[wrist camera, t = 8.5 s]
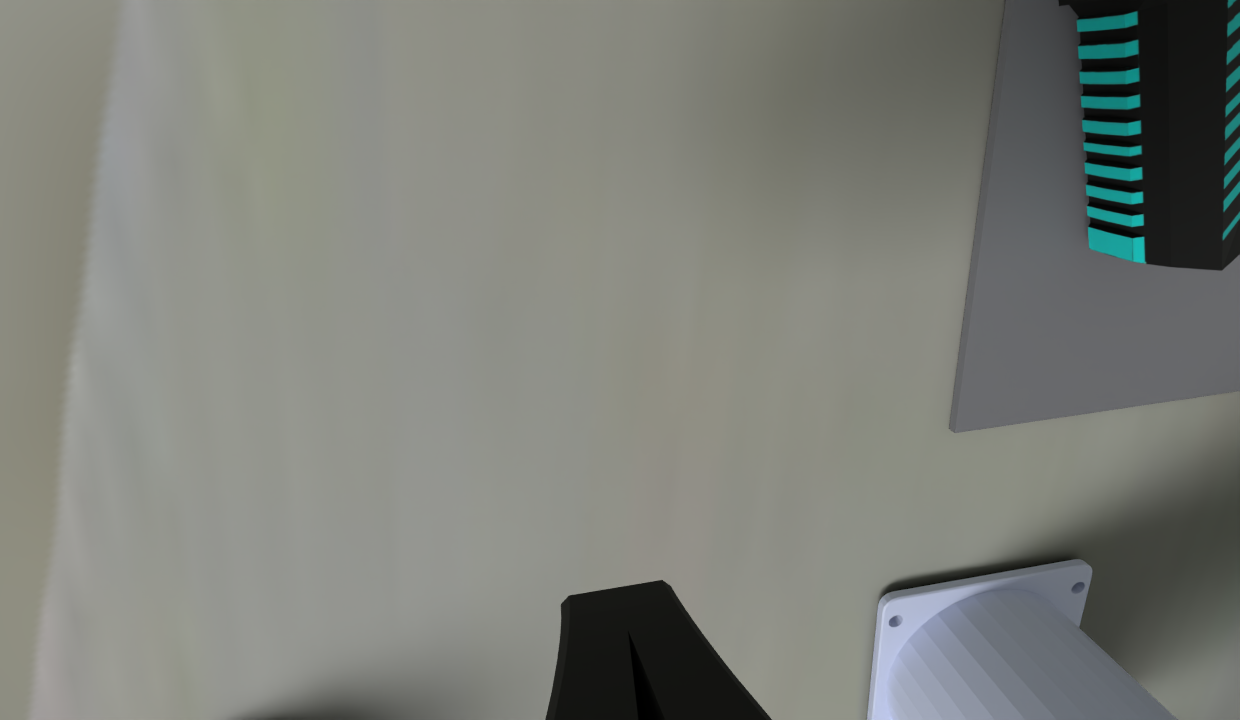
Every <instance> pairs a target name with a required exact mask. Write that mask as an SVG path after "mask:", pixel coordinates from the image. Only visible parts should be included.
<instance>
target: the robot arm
mask: <svg viewBox="0 0 1240 720" xmlns="http://www.w3.org/2000/svg"><path fill="white" fill-rule="evenodd" d="M1091 578H1092V568H1091V566H1090V565H1088V564H1087V563H1086V562H1085V561H1083V560H1081V559H1074V560H1068V561H1063V562H1057V563H1051V564H1046V565H1040V566H1034V567H1029V568H1023V569H1018V570H1012V571H1006V572H1001V573H995V574H989V575H984V576H978V577H972V578H967V579H961V580H955V581H950V582H944V583H938V584H933V585H927V586H921V587H916V588H910V589H904V590H899V591H893V592H890V593H887V594H886V595H884V596H883V597H882V598H881V600H880V601H879V604H878V612H877V622H876V632H875V643H874V653H873V663H872V673H871V683H870V693H869V704H868V714H867V720H1178V719H1177V718H1176V717H1175V716H1173V715H1172V714H1171V713H1170V712H1169V711H1168V710H1167V709H1166V708H1165V707H1164V706H1163V705H1162V704H1161V703H1159V702H1158V701H1157V700H1156V699H1155V698H1154V697H1153V696H1152V695H1151V694H1150V693H1149V692H1148V691H1147V690H1145V689H1144V688H1143V687H1142V686H1141V685H1140V684H1139V683H1138V682H1137V681H1136V680H1135V679H1134V678H1133V677H1131V676H1130V675H1129V674H1128V673H1127V672H1126V671H1125V670H1124V669H1123V668H1122V667H1121V666H1120V665H1119V664H1117V663H1116V662H1115V661H1114V660H1113V659H1112V658H1111V657H1110V656H1109V655H1108V654H1107V653H1106V652H1105V651H1104V650H1102V649H1101V648H1100V647H1099V646H1098V645H1097V644H1096V643H1095V642H1094V641H1093V640H1092V639H1091V638H1090V637H1088V636H1087V635H1086V634H1085V633H1084V632H1083V631H1082V630H1081V629H1080V628H1079V626H1080V622H1081V618H1082V614H1083V610H1084V606H1085V602H1086V598H1087V594H1088V590H1089V586H1090V582H1091ZM893 616H894V617H893ZM892 617H893V618H892ZM546 720H772V719H771V718H770V717H769V716H768V714H767V713H766V712H765V711H764V710H763V709H762V707H761V706H760V705H759V704H758V703H757V701H756V700H755V699H754V698H753V697H752V695H751V694H750V693H749V692H748V691H747V690H746V688H745V687H744V686H743V685H742V684H741V682H740V681H739V680H738V679H737V678H736V676H735V675H734V674H733V673H732V671H731V670H730V669H729V668H728V666H727V665H726V664H725V663H724V661H723V660H722V659H721V658H720V656H719V655H718V654H717V652H716V651H715V650H714V648H713V647H712V646H711V644H710V643H709V642H708V640H707V639H706V638H705V636H704V635H703V634H702V632H701V631H700V630H699V628H698V627H697V625H696V624H695V623H694V621H693V620H692V618H691V617H690V615H689V614H688V612H687V611H686V610H685V608H684V606H683V605H682V603H681V602H680V600H679V599H678V597H677V596H676V594H675V593H674V591H673V589H672V587H671V586H670V585H668V584H667V583H666V582H664V581H663V580H660V581H654V582H648V583H642V584H636V585H630V586H624V587H618V588H612V589H606V590H600V591H594V592H588V593H582V594H576V595H570V596H568V597H567V598H566V599H565V600H564V602H563V603H562V604H561V634H560V644H559V652H558V659H557V665H556V671H555V677H554V683H553V688H552V693H551V698H550V702H549V706H548V711H547V715H546Z"/></svg>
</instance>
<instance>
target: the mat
mask: <svg viewBox="0 0 1240 720" xmlns="http://www.w3.org/2000/svg"><path fill="white" fill-rule="evenodd" d="M1078 18H1079V17H1078V16H1077V14H1076V13H1075V12H1074V11H1073V9H1072V8H1071V7H1070V6H1069V5H1064V6H1059V1H1058V0H1006V2H1005V10H1004V18H1003V25H1002V33H1001V40H1000V48H999V55H998V63H997V70H996V78H995V85H994V93H993V101H992V108H991V116H990V123H989V131H988V138H987V146H986V153H985V161H984V168H983V176H982V184H981V191H980V199H979V206H978V214H977V221H976V229H975V236H974V244H973V251H972V259H971V267H970V274H969V282H968V289H967V297H966V304H965V312H964V319H963V327H962V334H961V342H960V350H959V357H958V365H957V372H956V380H955V387H954V395H953V402H952V410H951V417H950V425H949V429H950V430H951V431H953V432H954V433H959V432H966V431H972V430H979V429H986V428H993V427H999V426H1006V425H1013V424H1020V423H1026V422H1033V421H1040V420H1047V419H1053V418H1060V417H1067V416H1074V415H1080V414H1087V413H1094V412H1101V411H1108V410H1114V409H1121V408H1128V407H1135V406H1141V405H1148V404H1155V403H1162V402H1168V401H1175V400H1182V399H1189V398H1195V397H1202V396H1209V395H1216V394H1222V393H1229V392H1236V391H1240V255H1239V256H1237V257H1236V258H1235V259H1234V260H1233V261H1232V262H1231V263H1230V264H1229V265H1228V266H1227V267H1226V268H1224V269H1223V270H1222V271H1217V270H1203V269H1189V268H1175V267H1165V266H1158V265H1150V264H1143V263H1137V262H1131V261H1128V260H1124V259H1121V258H1117V257H1113V256H1110V255H1107V254H1104V253H1100V252H1097V251H1094V250H1091V249H1089V237H1088V226H1089V224H1090V217H1089V216H1087V205H1088V203H1089V196H1087V195H1086V183H1087V182H1088V174H1085V164H1084V162H1085V161H1086V160H1087V154H1086V151H1084V144H1083V142H1084V141H1085V139H1086V136H1085V132H1083V128H1082V119H1083V118H1084V108H1081V95H1082V94H1083V84H1080V75H1079V71H1080V70H1081V69H1082V63H1081V59H1079V56H1078V45H1079V44H1080V32H1077V19H1078Z"/></svg>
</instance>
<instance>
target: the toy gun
mask: <svg viewBox="0 0 1240 720" xmlns="http://www.w3.org/2000/svg"><path fill="white" fill-rule="evenodd" d="M1058 1H1059V6H1064V5H1069V6H1070V7H1071V8H1072V9H1073V11H1074V12H1075V13H1076V14H1077V16H1078V17H1079V18H1078V19H1077V32H1080V44H1079V45H1078V56H1079V59H1081V63H1082V69H1081V70H1080V71H1079V75H1080V84H1083V94H1082V95H1081V108H1084V118H1083V119H1082V128H1083V132H1085V136H1086V139H1085V141H1084V142H1083V144H1084V151H1086V154H1087V160H1086V161H1085V162H1084V164H1085V174H1088V182H1087V183H1086V195H1087V196H1089V203H1088V205H1087V216H1089V217H1090V224H1089V226H1088V237H1089V249H1091V250H1094V251H1097V252H1100V253H1104V254H1107V255H1110V256H1113V257H1117V258H1121V259H1124V260H1128V261H1131V262H1137V263H1143V264H1150V265H1158V266H1165V267H1175V268H1189V269H1203V270H1217V271H1222V270H1223V269H1224V268H1226V267H1227V266H1228V265H1229V264H1230V263H1231V262H1232V261H1233V260H1234V259H1235V258H1236V257H1237V256H1239V255H1240V0H1058Z"/></svg>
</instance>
